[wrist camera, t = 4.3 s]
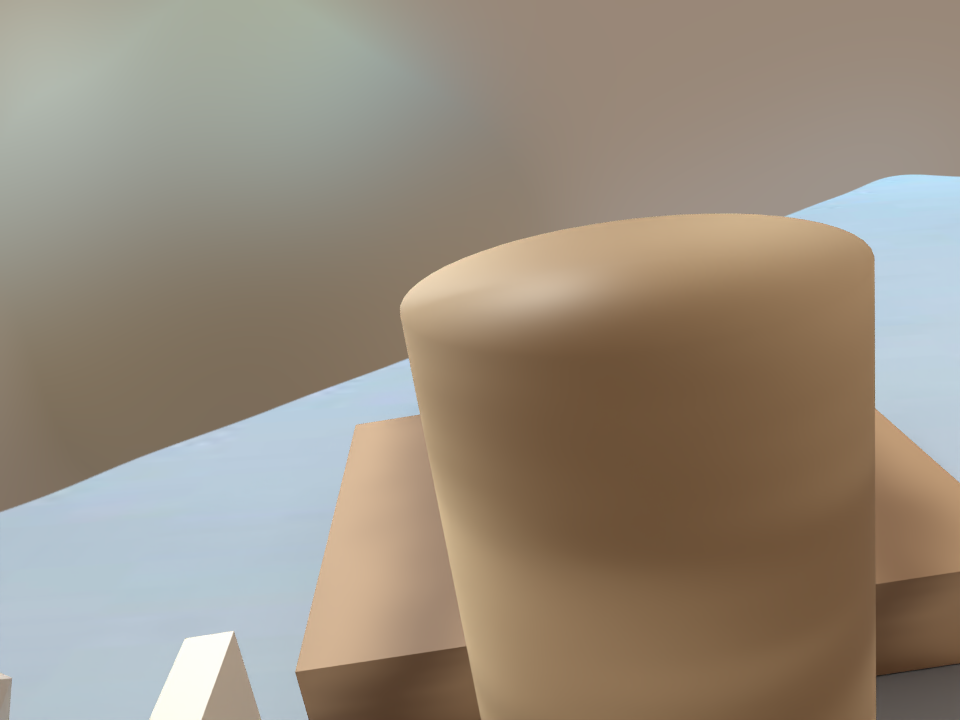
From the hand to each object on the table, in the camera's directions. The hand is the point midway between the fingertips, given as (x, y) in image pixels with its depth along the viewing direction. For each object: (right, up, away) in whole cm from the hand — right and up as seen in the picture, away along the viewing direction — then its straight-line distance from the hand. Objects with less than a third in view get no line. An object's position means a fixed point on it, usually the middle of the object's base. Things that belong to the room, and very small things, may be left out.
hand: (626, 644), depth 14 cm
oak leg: (+2, -10, 0) cm, 10 cm away
